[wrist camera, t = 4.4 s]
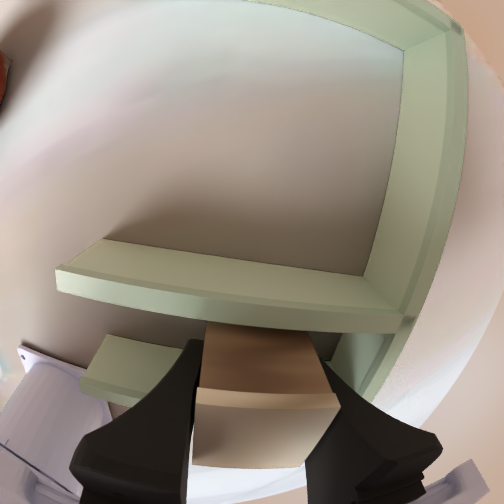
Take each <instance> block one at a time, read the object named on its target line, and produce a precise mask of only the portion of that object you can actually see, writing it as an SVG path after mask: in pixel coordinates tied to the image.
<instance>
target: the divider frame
mask: <svg viewBox="0 0 504 504" xmlns="http://www.w3.org/2000/svg"><path fill="white" fill-rule="evenodd" d="M247 1H254V2H260V3H266V4H271V5H276V6H281V7H286V8H290V9H294V10H298V11H302V12H306V13H309V14H313V15H316V16H320V17H323V18H326V19H329V20H332V21H335V22H338V23H341V24H344V25H346V26H349V27H352V28H354V29H357V30H359V31H362V32H364V33H366V34H369V35H371V36H373V37H376V38H378V39H380V40H382V41H384V42H386V43H388V44H390V45H392V46H394V47H396V48H398V49H400V50H402V51H404V63H403V81H402V93H401V104H400V113H399V121H398V129H397V136H396V142H395V148H394V154H393V160H392V166H391V171H390V176H389V181H388V186H387V190H386V195H385V199H384V204H383V208H382V212H381V216H380V220H379V224H378V228H377V231H376V235H375V239H374V242H373V246H372V249H371V253H370V256H369V259H368V263H367V266H366V269H365V272H364V275H363V277H362V276H354V275H347V274H339V273H332V272H325V271H317V270H310V269H303V268H296V267H288V266H281V265H274V264H267V263H260V262H253V261H246V260H239V259H232V258H225V257H219V256H212V255H205V254H198V253H192V252H185V251H178V250H172V249H165V248H158V247H152V246H145V245H139V244H132V243H126V242H119V241H113V240H107V239H101V240H99V241H98V242H96V243H95V244H94V245H92V246H91V247H89V248H88V249H86V250H85V251H84V252H82V253H81V254H79V255H78V256H77V257H75V258H74V259H73V260H71V261H70V262H69V263H67V264H66V265H62V264H61V265H60V266H58V267H57V268H56V269H55V276H56V284H57V291H61V292H65V293H69V294H73V295H77V296H81V297H85V298H89V299H93V300H98V301H102V302H106V303H111V304H116V305H120V306H125V307H130V308H135V309H140V310H146V311H151V312H157V313H162V314H168V315H174V316H180V317H186V318H193V319H200V320H207V321H214V322H222V323H230V324H238V325H247V326H256V327H266V328H277V329H289V330H303V331H318V332H338V333H342V336H341V338H340V341H339V343H338V346H337V348H336V350H335V353H334V355H333V357H332V360H331V361H324V362H325V363H326V364H327V365H328V366H329V367H330V368H331V369H332V370H333V371H334V372H335V373H336V374H337V375H338V376H339V377H340V378H341V379H342V380H343V381H344V382H345V383H346V384H347V385H348V386H350V387H351V388H352V389H353V390H354V391H355V392H356V393H358V394H359V395H360V396H361V397H363V398H364V399H365V400H367V401H368V402H369V403H371V402H372V401H373V399H374V398H375V396H376V395H377V393H378V391H379V390H380V388H381V387H382V385H383V383H384V382H385V380H386V378H387V376H388V375H389V373H390V371H391V370H392V368H393V366H394V364H395V362H396V361H397V359H398V357H399V355H400V353H401V351H402V349H403V347H404V345H405V343H406V341H407V339H408V337H409V335H410V333H411V331H412V329H413V327H414V325H415V323H416V320H417V318H418V316H419V314H420V311H421V309H422V307H423V304H424V302H425V299H426V297H427V295H428V292H429V289H430V287H431V284H432V282H433V279H434V276H435V273H436V270H437V268H438V265H439V262H440V259H441V255H442V252H443V249H444V246H445V242H446V239H447V236H448V232H449V228H450V224H451V221H452V216H453V212H454V208H455V204H456V199H457V194H458V189H459V184H460V178H461V172H462V165H463V158H464V150H465V141H466V129H467V112H468V75H467V58H466V47H465V39H464V31H463V28H462V27H461V25H460V24H459V23H458V22H456V21H455V20H454V19H452V18H451V17H450V16H448V15H447V14H445V13H444V12H443V11H441V10H440V9H438V8H437V7H435V6H434V5H432V4H431V3H429V2H428V1H426V0H247ZM182 351H183V349H179V348H173V347H167V346H161V345H156V344H151V343H146V342H141V341H136V340H131V339H127V338H122V337H118V336H114V335H109V334H107V336H106V337H105V339H104V341H103V342H102V344H101V346H100V347H99V349H98V351H97V352H96V354H95V356H94V358H93V359H92V361H91V363H90V365H89V366H88V368H87V370H86V372H85V374H84V375H83V376H81V378H80V380H79V381H78V383H79V386H80V389H81V392H82V394H85V395H88V396H91V397H94V398H98V399H101V400H104V401H108V402H111V403H115V404H119V405H122V406H126V407H130V408H131V407H133V406H134V405H135V404H136V403H138V402H139V401H140V400H141V399H142V398H144V397H145V396H146V395H147V394H148V393H149V392H150V391H151V390H152V389H153V388H154V387H155V386H156V385H157V384H158V383H159V382H160V380H161V379H162V378H163V377H164V376H165V375H166V373H167V372H168V371H169V370H170V368H171V367H172V366H173V364H174V363H175V362H176V360H177V359H178V357H179V356H180V354H181V353H182Z"/></svg>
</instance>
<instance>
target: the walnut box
mask: <svg viewBox="0 0 504 504" xmlns="http://www.w3.org/2000/svg"><path fill="white" fill-rule="evenodd" d="M340 408H341V406H340V403H339V401H338V399H337V396H336V394H335V393H333V392H332V390H331V387H330V385H329V383H328V380H327V378H326V375H325V373H324V370H323V368H322V365H321V363H320V361H319V358H318V356H317V353H316V351H315V349H314V346H313V344H312V341H311V339H310V337H309V334H308V332H307V331H303V330H289V329H277V328H266V327H256V326H247V325H238V324H230V323H222V322H214V321H207V325H206V333H205V341H204V349H203V357H202V366H201V375H200V384H199V387H197V395H196V404H195V419H194V435H193V455H192V465H199V466H209V467H221V468H241V469H273V468H293V467H300V466H301V465H302V463H303V462H304V461H305V459H306V458H307V457H308V455H309V454H310V453H311V451H312V450H313V449H314V447H315V446H316V444H317V443H318V442H319V440H320V439H321V437H322V436H323V434H324V433H325V431H326V430H327V428H328V427H329V425H330V424H331V422H332V421H333V419H334V417H335V416H336V414H337V413H338V411H339V409H340Z"/></svg>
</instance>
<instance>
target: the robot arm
mask: <svg viewBox="0 0 504 504" xmlns="http://www.w3.org/2000/svg"><path fill="white" fill-rule="evenodd" d="M204 341H205V340H198V339H189V340H188V341H187V344H186V346H185V348H184V349H183V351H182V353H181V354H180V356H179V357H178V359H177V360H176V362H175V363H174V364H173V366H172V367H171V368H170V370H169V371H168V372H167V373H166V375H165V376H164V377H163V378H162V379H161V380H160V382H159V383H158V384H157V385H156V386H155V387H154V388H153V389H152V390H151V391H150V392H149V393H148V394H147V395H146V396H145V397H144V398H142V399H141V400H140V401H139V402H138V403H136V404H135V405H134V406H133V407H131V408H130V409H129V410H127V411H126V412H125V413H123V414H121V415H120V416H118V417H117V418H115V419H114V420H113V419H112V416H111V413H110V409H109V406H108V403H107V401H104V400H101V399H98V398H94V397H91V396H88V395H85V394H82V392H81V389H80V386H79V383H78V381H79V380H80V378H81V376H83V375H84V374H85V372H86V370H87V369H83V368H80V367H77V366H74V365H71V364H68V363H65V362H63V361H60V360H57V359H54V358H52V357H49V356H46V355H44V354H41V353H39V352H37V351H34V350H32V349H29V348H27V347H25V346H23V345H19V346H18V348H17V350H18V353H19V356H20V358H21V361H22V363H23V366H24V368H25V371H26V373H27V374H26V376H25V377H24V378H23V380H22V381H21V383H20V384H19V386H18V387H17V389H16V390H15V391H14V393H13V394H12V396H11V398H10V399H9V401H8V402H7V404H6V405H5V407H4V408H3V410H2V412H1V413H0V504H186V497H187V479H188V464H189V451H190V442H191V435H192V430H193V425H194V419H195V404H196V395H197V387H199V384H200V375H201V366H202V357H203V349H204ZM317 356H318V358H319V361H320V363H321V365H322V368H323V370H324V373H325V375H326V378H327V380H328V383H329V385H330V387H331V390H332V392H333V393H335V394H336V396H337V399H338V401H339V403H340V406H341V408H340V409H339V411H338V413H337V414H336V416H335V417H334V419H333V421H332V422H331V424H330V425H329V427H328V428H327V430H326V431H325V433H324V434H323V436H322V437H321V439H320V440H319V442H318V443H317V444H316V446H315V447H314V449H313V450H312V451H311V453H310V454H309V455H308V457H307V458H306V459H305V468H306V479H307V492H308V504H475V503H476V502H477V501H478V500H479V499H481V498H482V497H483V496H485V495H486V494H487V493H488V492H489V490H490V489H489V488H488V486H487V484H486V483H485V481H484V479H483V477H482V475H481V474H480V472H479V471H478V469H477V467H476V465H475V463H474V462H473V460H472V459H469V460H468V461H466V462H464V463H463V464H461V465H459V466H458V467H456V468H455V469H453V470H452V471H451V472H450V473H448V474H447V475H446V477H444V478H442V479H440V480H438V481H436V482H434V483H432V484H430V485H428V486H426V487H424V486H423V484H422V482H421V480H423V479H424V475H423V473H422V471H424V470H425V469H426V468H427V467H428V466H429V465H430V464H432V463H433V462H434V461H435V460H436V459H437V458H438V457H439V456H440V454H441V453H442V450H443V447H442V445H441V444H440V442H439V440H438V439H437V437H436V435H435V434H434V433H430V432H427V431H424V430H421V429H418V428H415V427H413V426H410V425H408V424H406V423H403V422H401V421H399V420H397V419H395V418H393V417H391V416H390V415H388V414H386V413H384V412H383V411H381V410H380V409H378V408H376V407H375V406H374V405H372V404H371V403H369V402H368V401H367V400H365V399H364V398H363V397H361V396H360V395H359V394H358V393H356V392H355V391H354V390H353V389H352V388H351V387H350V386H348V385H347V384H346V383H345V382H344V381H343V380H342V379H341V378H340V377H339V376H338V375H337V374H336V373H335V372H334V371H333V370H332V369H331V368H330V367H329V366H328V365H327V364H326V363H325V362H324V360H323V359H322V358H321V357H320V356H319V355H318V354H317Z"/></svg>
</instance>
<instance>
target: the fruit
mask: <svg viewBox="0 0 504 504" xmlns="http://www.w3.org/2000/svg"><path fill="white" fill-rule="evenodd" d="M11 61H13V60H10V59H8V58H7V57H6V56H5V55H4V54H3V53H2V52H1V51H0V104H1V101H2V98H3V96H4V93H5V89H6V80H7V71H8V67H9V65H10V63H11Z"/></svg>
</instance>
